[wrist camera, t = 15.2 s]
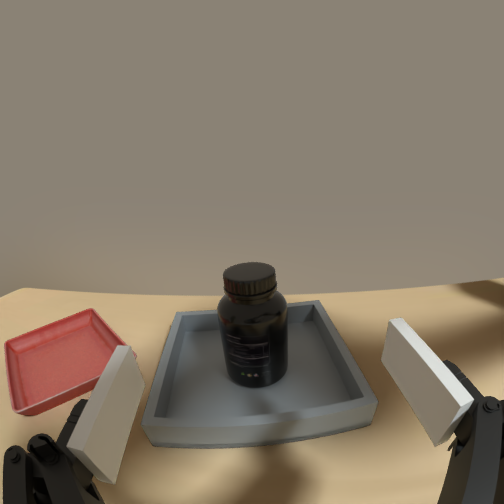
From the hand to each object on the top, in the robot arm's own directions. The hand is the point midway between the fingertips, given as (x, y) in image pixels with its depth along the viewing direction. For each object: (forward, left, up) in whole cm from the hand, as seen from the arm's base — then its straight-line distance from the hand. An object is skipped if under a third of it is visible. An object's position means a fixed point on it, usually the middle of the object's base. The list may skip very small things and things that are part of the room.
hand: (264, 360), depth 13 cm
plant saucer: (+26, -14, -14) cm, 33 cm away
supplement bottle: (0, -13, -13) cm, 18 cm away
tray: (0, -13, -13) cm, 19 cm away
